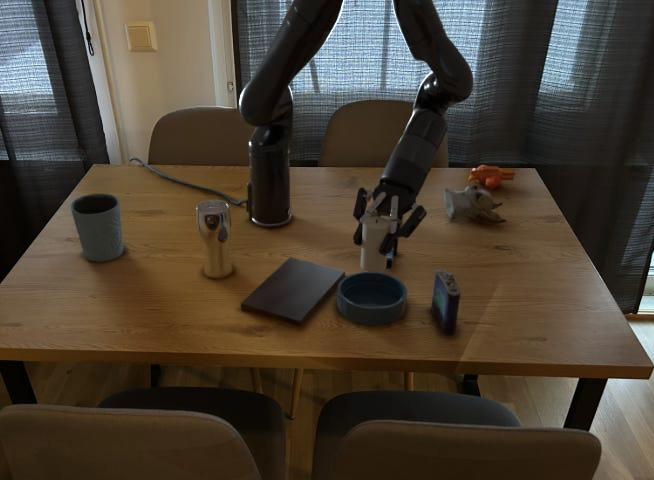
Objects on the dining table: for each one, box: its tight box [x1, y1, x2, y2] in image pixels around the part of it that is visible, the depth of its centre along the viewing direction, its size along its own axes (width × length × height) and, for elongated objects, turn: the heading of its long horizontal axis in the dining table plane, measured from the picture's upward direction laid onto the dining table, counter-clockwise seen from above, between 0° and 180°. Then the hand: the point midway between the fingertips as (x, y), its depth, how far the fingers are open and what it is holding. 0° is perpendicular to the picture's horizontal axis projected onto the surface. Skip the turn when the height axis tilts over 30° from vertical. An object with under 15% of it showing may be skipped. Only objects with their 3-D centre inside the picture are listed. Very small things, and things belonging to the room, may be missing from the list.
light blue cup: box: [70, 193, 124, 262], centre depth 140 cm, size 10×10×12 cm
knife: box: [385, 238, 399, 270], centre depth 143 cm, size 31×3×4 cm, turn 167°
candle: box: [360, 216, 390, 273], centre depth 117 cm, size 5×5×10 cm
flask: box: [430, 269, 461, 336], centre depth 117 cm, size 9×3×11 cm, turn 8°
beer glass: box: [195, 199, 234, 279], centre depth 132 cm, size 7×7×15 cm
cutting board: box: [240, 256, 346, 327], centre depth 129 cm, size 13×20×2 cm, turn 152°
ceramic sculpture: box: [443, 184, 507, 225], centre depth 154 cm, size 11×9×15 cm
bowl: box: [336, 271, 408, 326], centre depth 124 cm, size 13×13×4 cm
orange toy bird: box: [467, 164, 516, 190], centre depth 170 cm, size 5×8×12 cm
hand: (369, 248), depth 116 cm, fingers closed on candle, 4 cm apart
